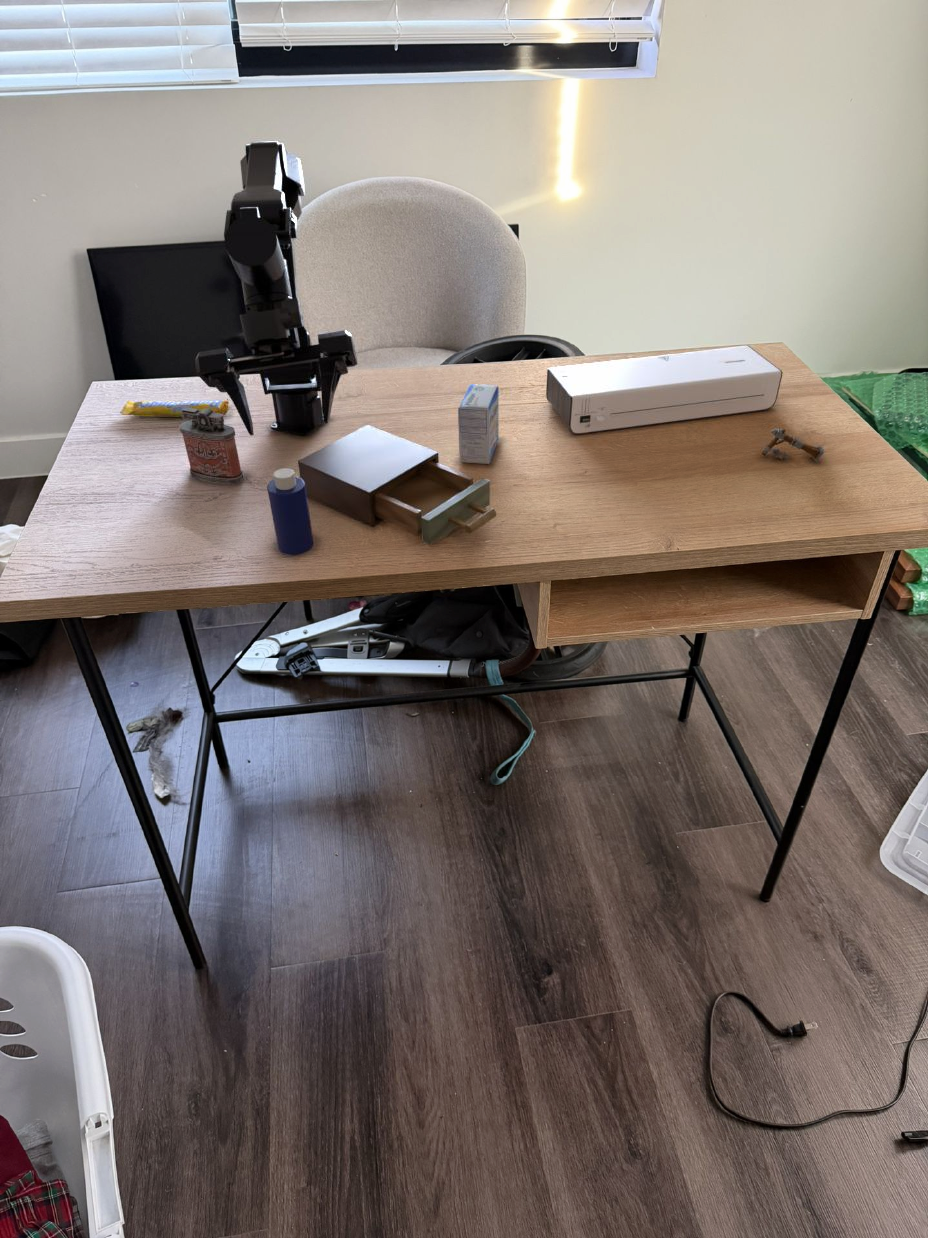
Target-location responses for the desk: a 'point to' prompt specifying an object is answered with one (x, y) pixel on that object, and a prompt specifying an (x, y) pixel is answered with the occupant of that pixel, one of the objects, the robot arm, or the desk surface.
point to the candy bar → (171, 408)
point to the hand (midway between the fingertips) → (288, 428)
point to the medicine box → (478, 423)
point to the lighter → (210, 447)
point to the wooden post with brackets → (780, 434)
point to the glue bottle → (290, 512)
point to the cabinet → (360, 470)
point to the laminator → (662, 389)
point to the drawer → (434, 502)
